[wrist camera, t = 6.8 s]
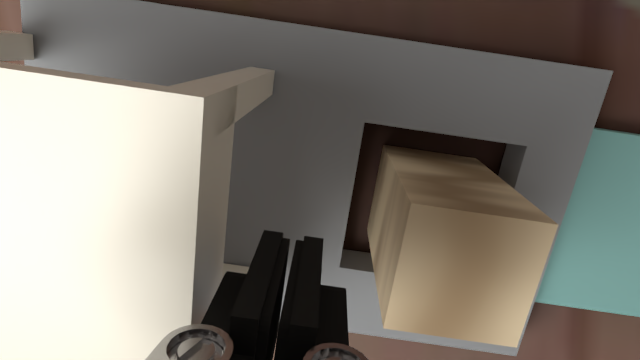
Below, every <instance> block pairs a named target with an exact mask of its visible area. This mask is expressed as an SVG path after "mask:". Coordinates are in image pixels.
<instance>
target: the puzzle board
mask: <svg viewBox="0 0 640 360" xmlns="http://www.w3.org/2000/svg"><path fill="white" fill-rule="evenodd" d="M20 3H21V18H22V32H23V33H26V34H33V47H34V60H24V62H25V65H27V66H34V67H40V68H47V69H54V70H61V71H68V72H74V73H81V74H88V75H95V76H102V77H108V78H115V79H122V80H129V81H135V82H142V83H149V84H156V85H163V86H171V85H175V84H180V83H184V82H188V81H192V80H196V79H201V78H205V77H209V76H213V75H218V74H222V73H226V72H230V71H235V70H239V69H243V68H247V67H256V68H263V69H270V70H275V74H274V83H273V93H272V95H271V96H270V97H269V98H267V99H266V100H265V101H263V102H262V103H261V104H259V105H258V106H257V107H255V108H254V109H253V110H251V111H250V112H249V113H247V114H246V115H245V116H243V117H242V118H241V119H239V120H238V121H237V122H235V124H234V136H233V149H232V161H231V174H230V186H229V198H228V211H227V223H226V236H225V248H224V260H223V263H225V264H232V265H239V266H246V267H250V264H251V262H252V259H253V257H254V254H255V252H256V249H257V247H258V244H259V241H260V239H261V236H262V234H263V231H264V230H268V231H275V232H282V233H283V238H288V239H290V246H289V253H288V261H287V268H286V276H285V283H284V291H283V299H282V306H283V302H284V297H285V292H286V287H287V282H288V277H289V272H290V267H291V262H292V257H293V253H294V248H295V243H296V240H302V241H304V236H310V237H317V238H324V240H323V256H322V272H321V285H327V286H334V287H341V288H346V295H347V318H348V332H351V333H358V334H365V335H372V336H379V337H386V338H393V339H400V340H407V341H414V342H421V343H428V344H435V345H442V346H449V347H456V348H463V349H470V350H477V351H484V352H491V353H498V354H504V355H511V356H516V355H517V352H518V349H519V346H520V343H521V340H522V338H523V335H524V332H525V329H526V326H527V323H528V320H529V317H530V314H531V311H532V308H533V305H534V302H535V299H536V297H537V294H538V291H539V288H540V285H541V282H542V279H543V276H544V273H545V270H546V267H547V264H548V261H549V258H550V255H551V253H552V250H553V247H554V244H555V241H556V238H557V235H558V232H559V229H560V226H561V223H562V220H563V217H564V214H565V212H566V209H567V206H568V203H569V200H570V197H571V194H572V191H573V188H574V185H575V182H576V179H577V176H578V173H579V170H580V168H581V165H582V162H583V159H584V156H585V153H586V150H587V147H588V144H589V141H590V138H591V135H592V132H593V129H594V126H595V124H596V121H597V118H598V115H599V112H600V109H601V106H602V103H603V100H604V97H605V94H606V91H607V88H608V85H609V83H610V80H611V77H612V74H613V71H610V70H603V69H596V68H590V67H583V66H576V65H570V64H563V63H556V62H549V61H543V60H536V59H529V58H522V57H516V56H509V55H502V54H495V53H489V52H482V51H475V50H469V49H462V48H455V47H448V46H442V45H435V44H428V43H421V42H415V41H408V40H401V39H395V38H388V37H381V36H374V35H368V34H361V33H354V32H347V31H341V30H334V29H327V28H321V27H314V26H307V25H300V24H294V23H287V22H280V21H273V20H267V19H260V18H253V17H246V16H240V15H233V14H226V13H220V12H213V11H206V10H199V9H193V8H186V7H179V6H172V5H166V4H159V3H152V2H146V1H139V0H20ZM364 123H372V124H379V125H386V126H393V127H399V128H406V129H413V130H420V131H427V132H433V133H440V134H447V135H454V136H461V137H467V138H474V139H481V140H488V141H495V142H501V143H507V145H506V149H505V152H504V156H503V160H502V163H501V167H500V170H499V174H498V176H499V177H500V178H501V179H502V180H504V181H505V182H506V183H507V184H509V185H510V186H511V187H512V188H514V189H515V190H516V191H517V192H519V193H520V194H521V195H522V196H523V197H525V198H526V199H527V200H528V201H530V202H531V203H532V204H533V205H535V206H536V207H537V208H538V209H540V210H541V211H542V212H543V213H545V214H546V215H547V216H548V217H550V218H551V219H552V220H553V221H555V222H556V223H557V224H558V228H557V231H556V234H555V237H554V240H553V243H552V246H551V248H550V251H549V254H548V257H547V260H546V263H545V266H544V269H543V272H542V275H541V278H540V281H539V284H538V287H537V290H536V293H535V296H534V298H533V301H532V304H531V307H530V310H529V313H528V316H527V319H526V322H525V325H524V328H523V331H522V334H521V337H520V340H519V343H518V346H517V348H515V347H508V346H501V345H494V344H488V343H481V342H474V341H467V340H460V339H453V338H446V337H439V336H432V335H425V334H418V333H411V332H404V331H397V330H390V329H383V324H382V317H381V311H380V305H379V299H378V293H377V287H376V281H375V275H374V269H373V263H372V257H371V253H367V252H360V251H353V250H346V249H343V243H344V238H345V232H346V226H347V221H348V215H349V209H350V203H351V198H352V192H353V186H354V180H355V175H356V169H357V163H358V157H359V152H360V146H361V140H362V134H363V129H364ZM282 306H281V311H282ZM280 316H281V314H280ZM279 322H280V321H279Z"/></svg>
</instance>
